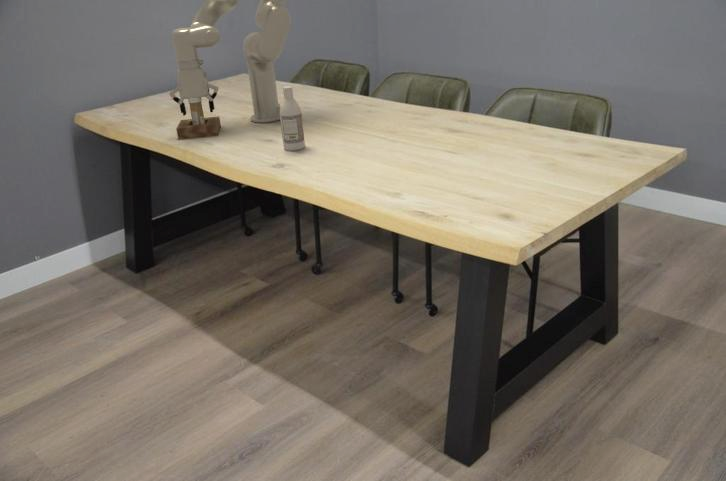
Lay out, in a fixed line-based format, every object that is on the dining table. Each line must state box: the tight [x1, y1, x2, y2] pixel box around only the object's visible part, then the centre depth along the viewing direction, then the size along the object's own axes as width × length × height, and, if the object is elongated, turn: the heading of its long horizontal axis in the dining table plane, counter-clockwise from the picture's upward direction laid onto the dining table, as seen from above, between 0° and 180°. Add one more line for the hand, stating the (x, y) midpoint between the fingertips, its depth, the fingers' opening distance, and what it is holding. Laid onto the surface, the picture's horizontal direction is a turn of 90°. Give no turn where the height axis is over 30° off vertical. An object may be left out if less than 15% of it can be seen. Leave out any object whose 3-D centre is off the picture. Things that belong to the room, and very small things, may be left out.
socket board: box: [175, 116, 222, 141], centre depth 260 cm, size 14×12×4 cm
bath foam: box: [279, 85, 306, 152], centre depth 231 cm, size 7×7×20 cm
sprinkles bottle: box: [187, 97, 205, 125], centre depth 258 cm, size 5×5×14 cm
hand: (198, 113), depth 258 cm, fingers open, 9 cm apart
